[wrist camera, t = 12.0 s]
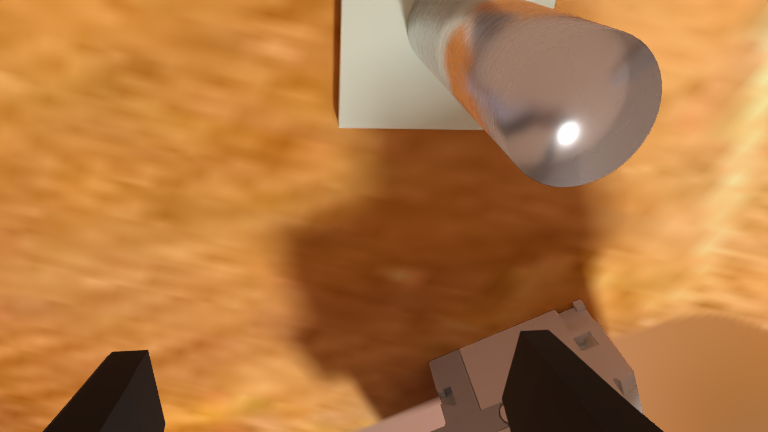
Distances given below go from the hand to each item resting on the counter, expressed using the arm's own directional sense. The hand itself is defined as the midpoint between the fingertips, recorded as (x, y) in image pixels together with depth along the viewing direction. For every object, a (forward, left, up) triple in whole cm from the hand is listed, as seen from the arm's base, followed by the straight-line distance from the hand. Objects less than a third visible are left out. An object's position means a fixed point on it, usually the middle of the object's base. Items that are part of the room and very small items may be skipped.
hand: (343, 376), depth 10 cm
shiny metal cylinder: (+4, +5, -10) cm, 12 cm away
